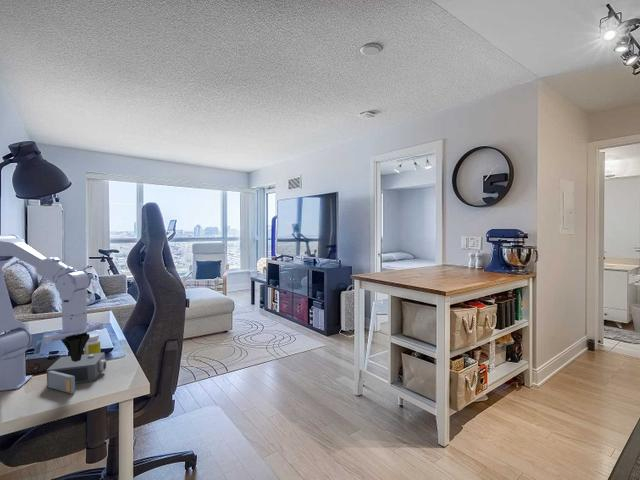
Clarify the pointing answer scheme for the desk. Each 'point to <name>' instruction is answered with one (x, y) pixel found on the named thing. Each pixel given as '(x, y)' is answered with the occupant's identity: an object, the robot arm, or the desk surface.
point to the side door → (61, 381)
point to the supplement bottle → (92, 345)
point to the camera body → (81, 367)
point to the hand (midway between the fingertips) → (76, 360)
